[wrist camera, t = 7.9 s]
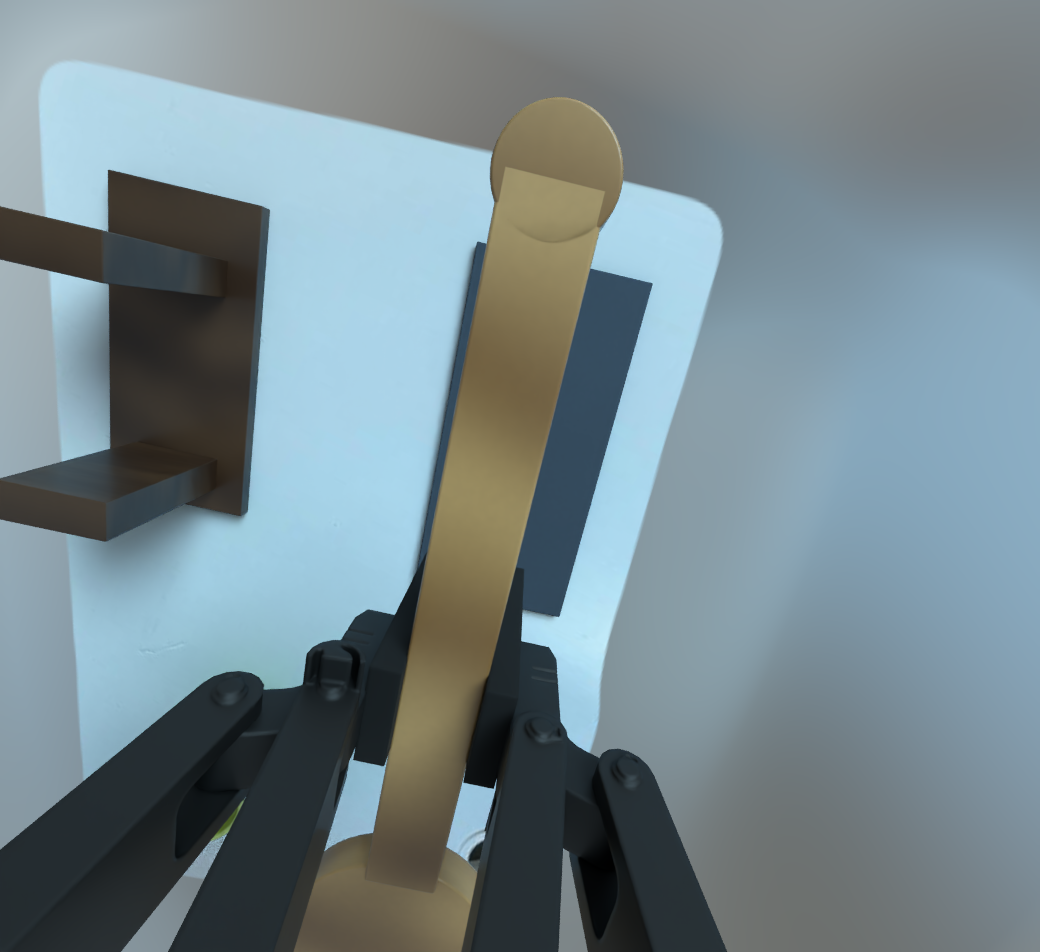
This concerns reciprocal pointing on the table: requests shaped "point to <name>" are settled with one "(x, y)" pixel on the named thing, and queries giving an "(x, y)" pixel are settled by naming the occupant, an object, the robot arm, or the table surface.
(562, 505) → the mat
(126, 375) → the rack
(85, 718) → the table surface
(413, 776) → the ladle
